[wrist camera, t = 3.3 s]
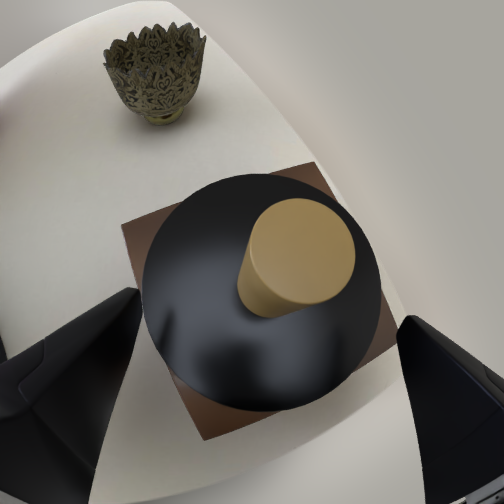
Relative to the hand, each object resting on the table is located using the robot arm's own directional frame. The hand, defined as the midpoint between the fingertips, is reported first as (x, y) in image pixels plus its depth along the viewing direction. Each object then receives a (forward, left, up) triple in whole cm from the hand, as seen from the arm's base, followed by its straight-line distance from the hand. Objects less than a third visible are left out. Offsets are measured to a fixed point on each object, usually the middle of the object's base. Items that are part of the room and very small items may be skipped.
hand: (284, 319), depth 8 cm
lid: (+1, -1, -4) cm, 4 cm away
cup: (+19, 0, -9) cm, 21 cm away
